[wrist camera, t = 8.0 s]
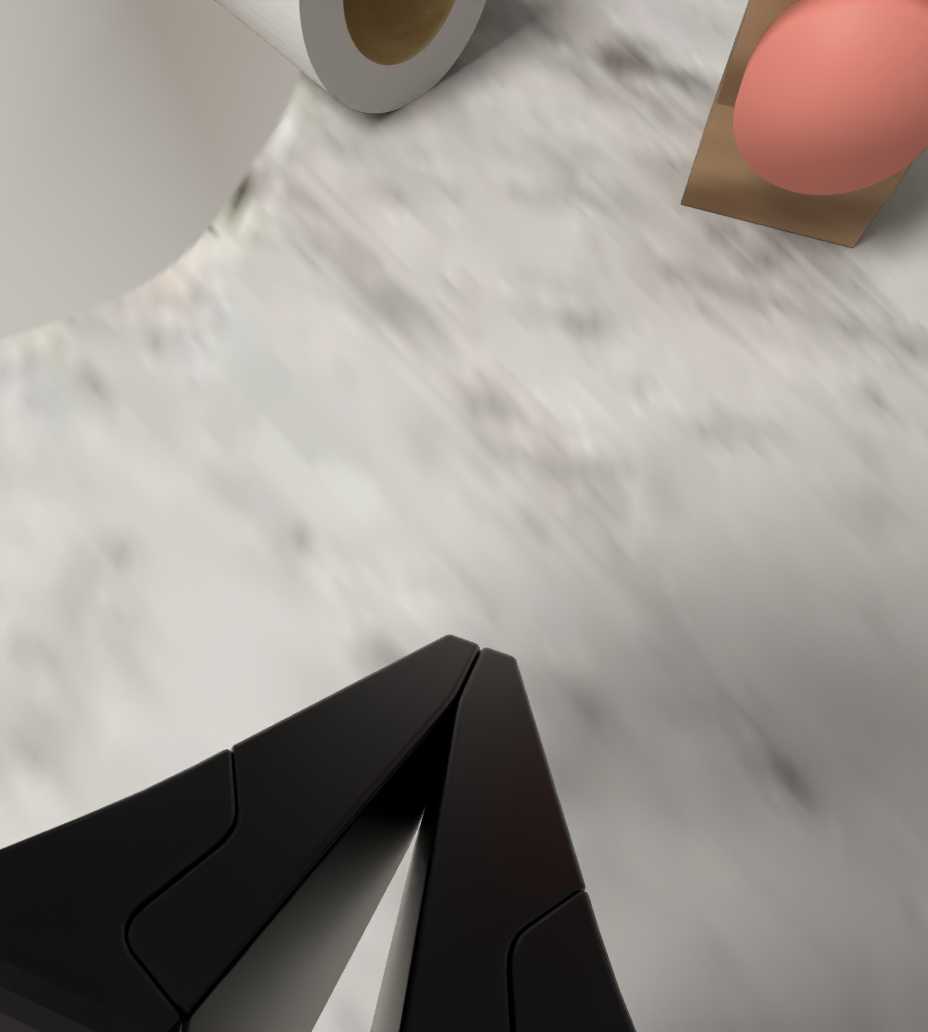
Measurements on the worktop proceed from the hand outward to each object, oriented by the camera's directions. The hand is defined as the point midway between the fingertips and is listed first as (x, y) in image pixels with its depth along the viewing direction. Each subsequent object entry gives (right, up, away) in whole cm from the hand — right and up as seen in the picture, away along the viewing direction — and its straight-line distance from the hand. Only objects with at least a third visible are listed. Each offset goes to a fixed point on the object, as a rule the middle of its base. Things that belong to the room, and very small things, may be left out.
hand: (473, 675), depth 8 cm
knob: (+13, +17, +17) cm, 27 cm away
